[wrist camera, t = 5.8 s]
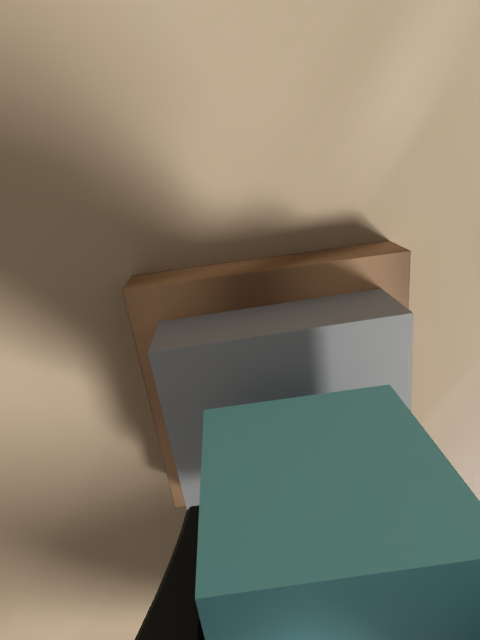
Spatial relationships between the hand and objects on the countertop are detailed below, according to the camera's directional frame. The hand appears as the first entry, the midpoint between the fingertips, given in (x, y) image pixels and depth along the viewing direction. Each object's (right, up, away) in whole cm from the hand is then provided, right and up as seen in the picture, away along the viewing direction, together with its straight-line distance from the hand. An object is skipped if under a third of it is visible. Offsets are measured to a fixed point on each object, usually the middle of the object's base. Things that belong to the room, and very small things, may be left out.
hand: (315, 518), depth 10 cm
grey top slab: (0, +2, +6) cm, 6 cm away
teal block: (0, +1, +1) cm, 2 cm away
